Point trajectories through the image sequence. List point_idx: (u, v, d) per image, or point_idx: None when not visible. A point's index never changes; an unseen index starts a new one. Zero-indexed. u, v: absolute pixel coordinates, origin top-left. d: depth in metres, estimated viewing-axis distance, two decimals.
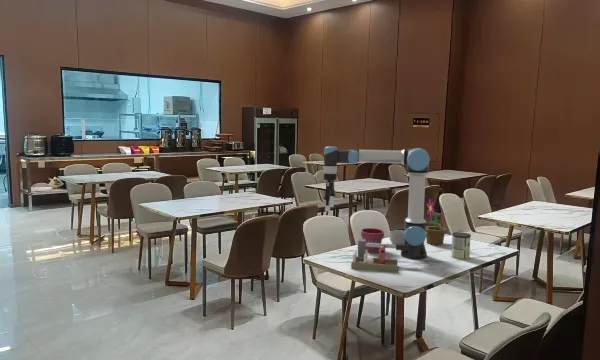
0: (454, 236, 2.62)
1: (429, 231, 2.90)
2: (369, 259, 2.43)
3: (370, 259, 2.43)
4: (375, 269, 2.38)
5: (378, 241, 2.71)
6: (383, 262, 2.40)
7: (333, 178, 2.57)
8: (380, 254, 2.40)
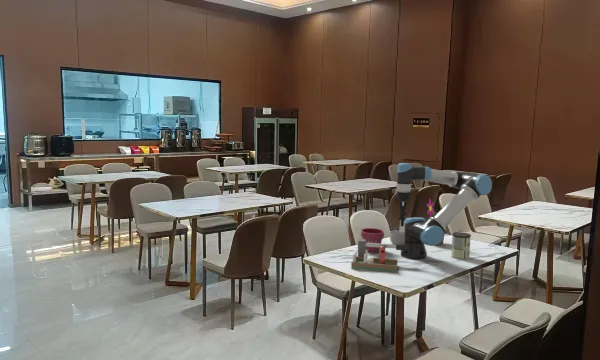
0: (454, 236, 2.62)
1: None
2: (369, 259, 2.43)
3: (370, 259, 2.43)
4: (375, 269, 2.38)
5: (378, 241, 2.71)
6: (383, 262, 2.40)
7: (407, 197, 2.42)
8: (380, 254, 2.40)
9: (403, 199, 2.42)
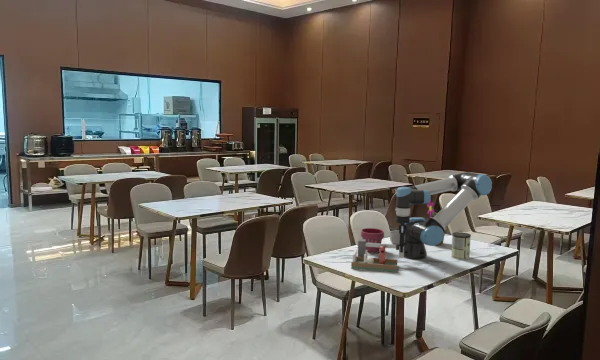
0: (454, 236, 2.62)
1: None
2: (369, 259, 2.43)
3: (370, 259, 2.43)
4: (375, 269, 2.38)
5: (378, 241, 2.71)
6: (383, 262, 2.40)
7: (407, 221, 2.44)
8: (380, 254, 2.40)
9: (402, 223, 2.44)
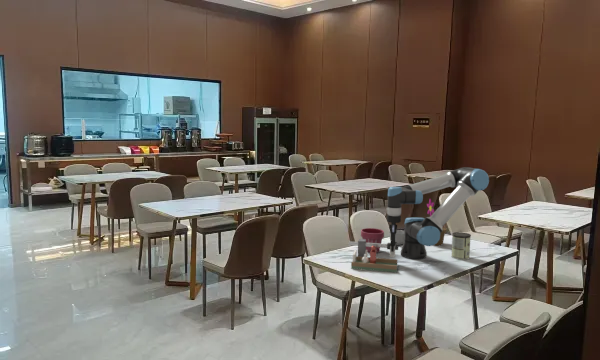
0: (454, 236, 2.62)
1: None
2: (363, 260, 2.44)
3: (363, 259, 2.44)
4: (375, 269, 2.38)
5: (378, 241, 2.71)
6: (374, 261, 2.42)
7: (398, 220, 2.45)
8: (371, 253, 2.42)
9: (393, 223, 2.45)
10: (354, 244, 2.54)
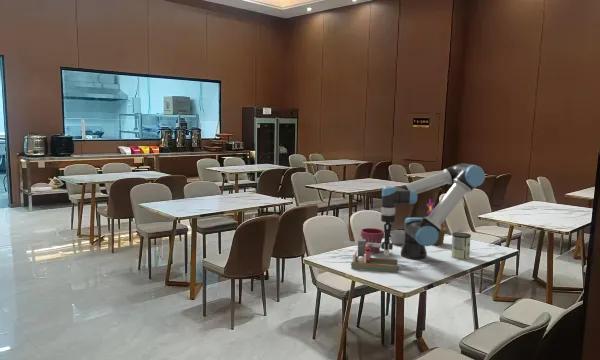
0: (454, 236, 2.62)
1: None
2: None
3: (358, 261, 2.45)
4: (375, 269, 2.38)
5: (378, 241, 2.71)
6: (368, 261, 2.42)
7: (392, 220, 2.46)
8: (365, 253, 2.42)
9: (387, 222, 2.45)
10: (349, 244, 2.55)
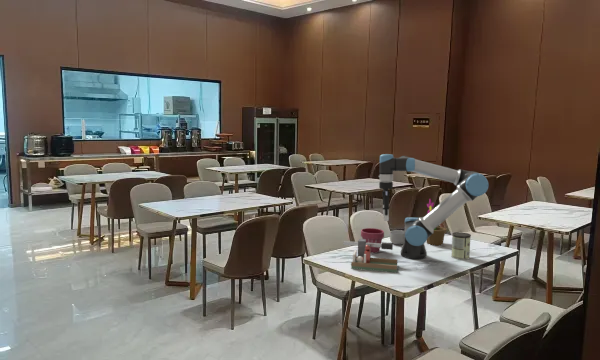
0: (454, 236, 2.62)
1: None
2: None
3: None
4: (375, 269, 2.38)
5: (378, 241, 2.71)
6: (368, 261, 2.42)
7: (390, 187, 2.50)
8: (365, 253, 2.42)
9: (386, 189, 2.50)
10: (349, 244, 2.55)
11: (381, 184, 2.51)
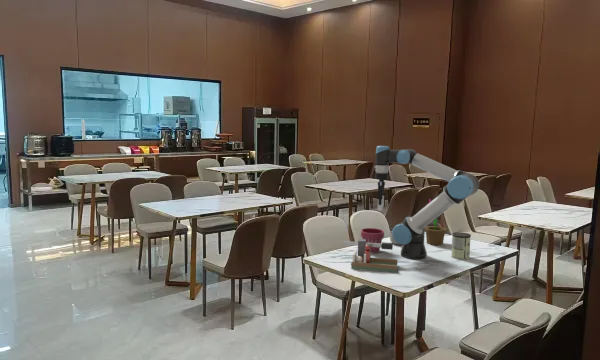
0: (454, 236, 2.62)
1: (429, 231, 2.91)
2: None
3: None
4: (375, 269, 2.38)
5: (378, 241, 2.71)
6: (368, 261, 2.42)
7: (385, 177, 2.58)
8: (365, 253, 2.42)
9: (381, 179, 2.57)
10: (349, 244, 2.55)
11: (376, 175, 2.59)
